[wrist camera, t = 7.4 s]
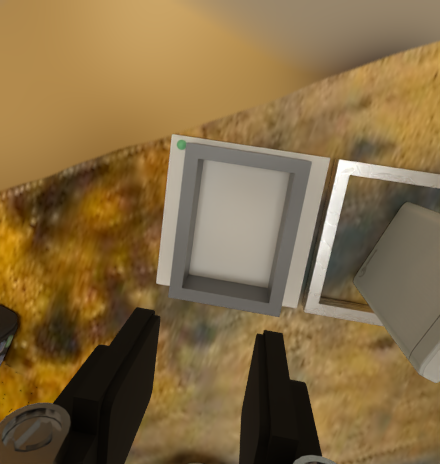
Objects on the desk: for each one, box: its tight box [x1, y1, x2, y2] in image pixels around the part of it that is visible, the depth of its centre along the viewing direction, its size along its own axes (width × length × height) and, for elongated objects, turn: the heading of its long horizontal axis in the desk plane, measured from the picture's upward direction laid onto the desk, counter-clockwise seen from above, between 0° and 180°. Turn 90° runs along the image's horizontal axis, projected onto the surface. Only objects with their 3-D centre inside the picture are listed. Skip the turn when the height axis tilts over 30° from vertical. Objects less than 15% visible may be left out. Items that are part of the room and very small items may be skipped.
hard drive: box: [353, 202, 440, 383], centre depth 23 cm, size 2×8×12 cm, turn 153°
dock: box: [156, 134, 330, 317], centre depth 28 cm, size 13×13×4 cm
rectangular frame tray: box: [302, 159, 440, 326], centre depth 28 cm, size 11×13×2 cm
